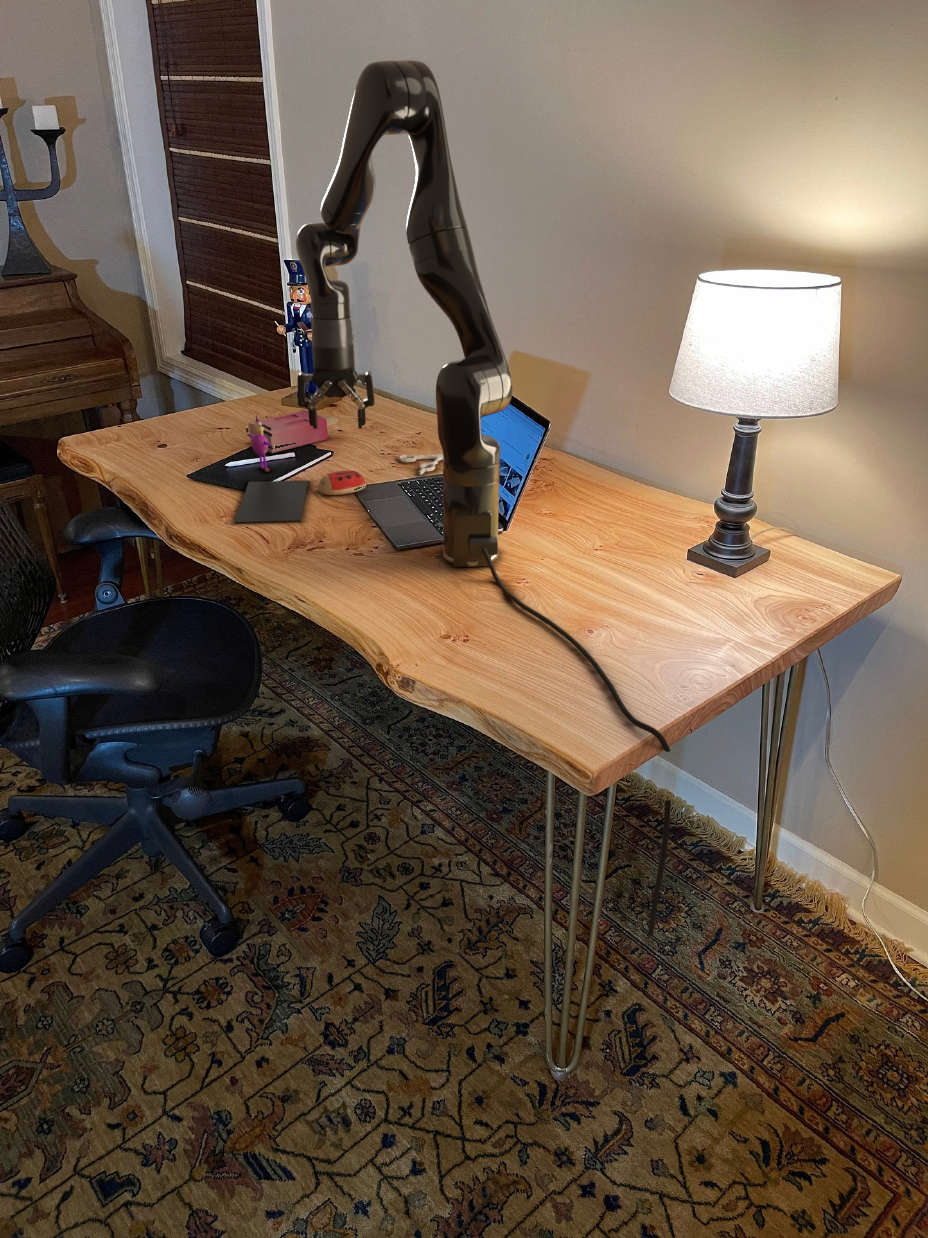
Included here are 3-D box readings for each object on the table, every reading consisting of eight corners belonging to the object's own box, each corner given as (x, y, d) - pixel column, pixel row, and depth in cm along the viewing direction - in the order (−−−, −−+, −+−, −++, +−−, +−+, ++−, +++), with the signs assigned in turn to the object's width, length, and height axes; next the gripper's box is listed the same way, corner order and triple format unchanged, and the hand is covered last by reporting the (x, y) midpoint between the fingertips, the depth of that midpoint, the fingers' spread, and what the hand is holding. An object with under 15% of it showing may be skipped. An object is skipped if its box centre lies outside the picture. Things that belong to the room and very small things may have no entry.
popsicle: (346, 414, 206) (270, 432, 195) (347, 434, 209) (272, 453, 197) (323, 405, 212) (248, 422, 201) (325, 425, 215) (250, 443, 203)
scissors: (391, 457, 193) (464, 438, 204) (391, 461, 193) (464, 442, 204) (420, 472, 186) (494, 451, 196) (420, 475, 186) (494, 454, 197)
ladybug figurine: (314, 488, 180) (312, 471, 178) (361, 481, 183) (360, 464, 182) (323, 499, 175) (322, 482, 173) (372, 492, 178) (371, 475, 176)
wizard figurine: (283, 476, 185) (277, 419, 179) (269, 480, 184) (263, 422, 178) (256, 461, 193) (249, 406, 187) (242, 465, 191) (235, 409, 185)
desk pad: (300, 521, 166) (300, 520, 165) (234, 523, 165) (234, 521, 165) (308, 481, 183) (308, 480, 183) (248, 483, 182) (248, 481, 182)
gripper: (291, 346, 161) (298, 434, 169) (371, 345, 162) (375, 433, 170) (295, 336, 167) (302, 421, 175) (372, 336, 168) (375, 420, 176)
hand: (338, 427), depth 173 cm, fingers open, 8 cm apart
